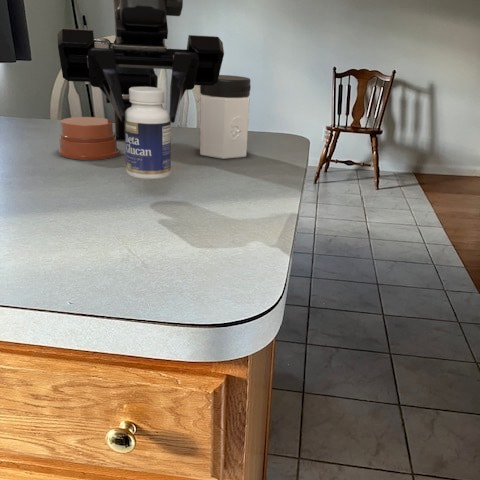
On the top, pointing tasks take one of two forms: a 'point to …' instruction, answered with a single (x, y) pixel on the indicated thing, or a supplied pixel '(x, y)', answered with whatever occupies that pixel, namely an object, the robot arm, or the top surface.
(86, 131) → the cup stack
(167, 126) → the pill bottle
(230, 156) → the jar
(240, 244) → the top surface
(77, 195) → the top surface
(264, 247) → the top surface
